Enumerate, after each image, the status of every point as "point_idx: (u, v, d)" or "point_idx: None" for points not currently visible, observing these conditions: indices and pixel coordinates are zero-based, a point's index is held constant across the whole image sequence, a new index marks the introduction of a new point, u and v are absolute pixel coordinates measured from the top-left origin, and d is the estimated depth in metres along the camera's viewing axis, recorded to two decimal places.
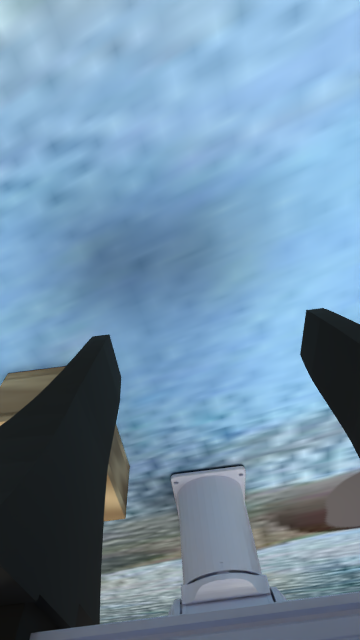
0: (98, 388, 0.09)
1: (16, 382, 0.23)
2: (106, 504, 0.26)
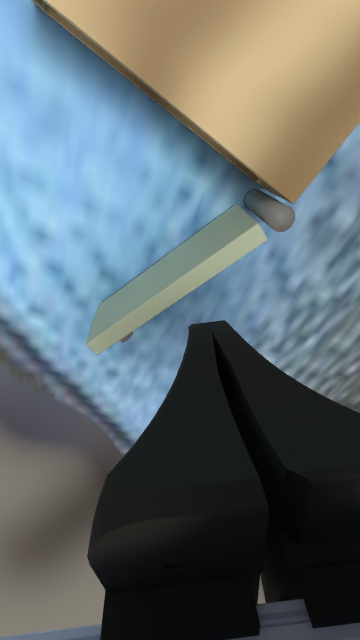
0: None
1: None
2: (358, 14, 0.11)
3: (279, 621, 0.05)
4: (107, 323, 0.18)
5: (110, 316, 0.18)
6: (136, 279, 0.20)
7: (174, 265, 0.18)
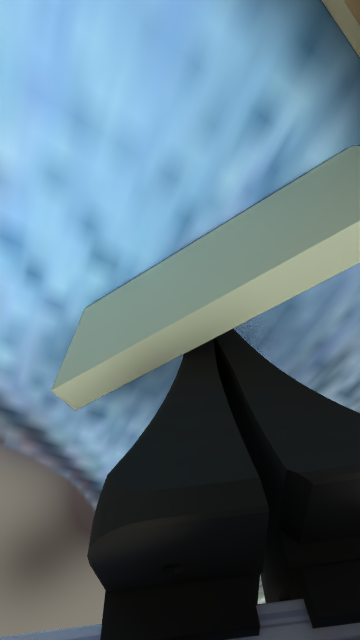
0: None
1: None
2: None
3: (279, 621, 0.05)
4: (99, 351, 0.09)
5: (105, 335, 0.09)
6: (154, 270, 0.12)
7: (239, 247, 0.09)
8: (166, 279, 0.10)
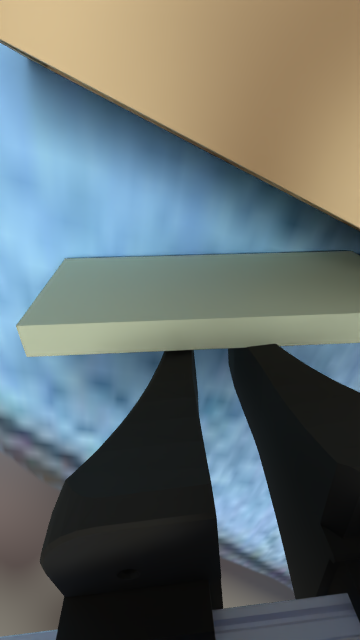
0: (194, 376, 0.09)
1: None
2: None
3: (325, 615, 0.05)
4: (85, 310, 0.08)
5: (94, 298, 0.09)
6: (156, 260, 0.12)
7: (249, 282, 0.10)
8: (170, 275, 0.10)
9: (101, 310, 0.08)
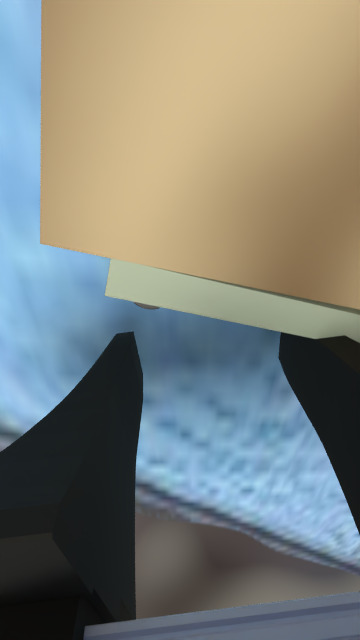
0: (127, 385, 0.09)
1: None
2: None
3: None
4: None
5: None
6: None
7: None
8: None
9: None
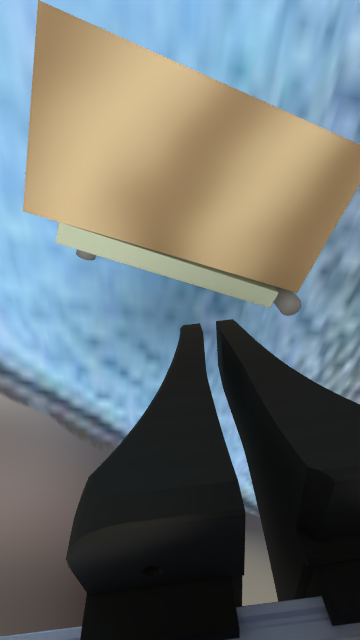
0: None
1: None
2: (312, 157, 0.13)
3: (298, 619, 0.05)
4: None
5: None
6: None
7: None
8: None
9: None
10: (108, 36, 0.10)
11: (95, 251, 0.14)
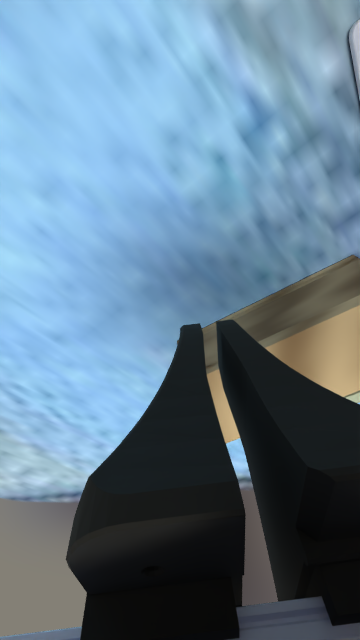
0: None
1: None
2: (358, 321, 0.18)
3: (298, 619, 0.05)
4: None
5: None
6: None
7: None
8: None
9: None
10: (215, 372, 0.19)
11: None
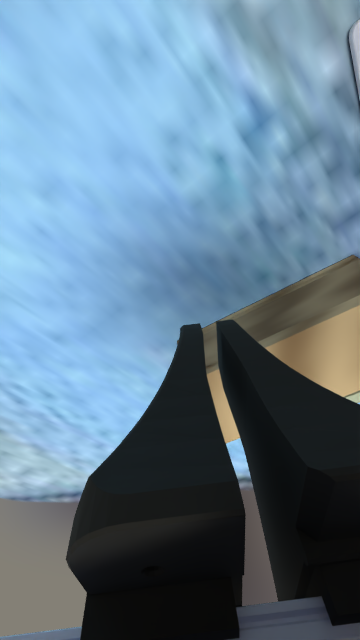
0: None
1: None
2: (358, 321, 0.18)
3: (298, 619, 0.05)
4: None
5: None
6: None
7: None
8: None
9: None
10: (215, 372, 0.19)
11: None
